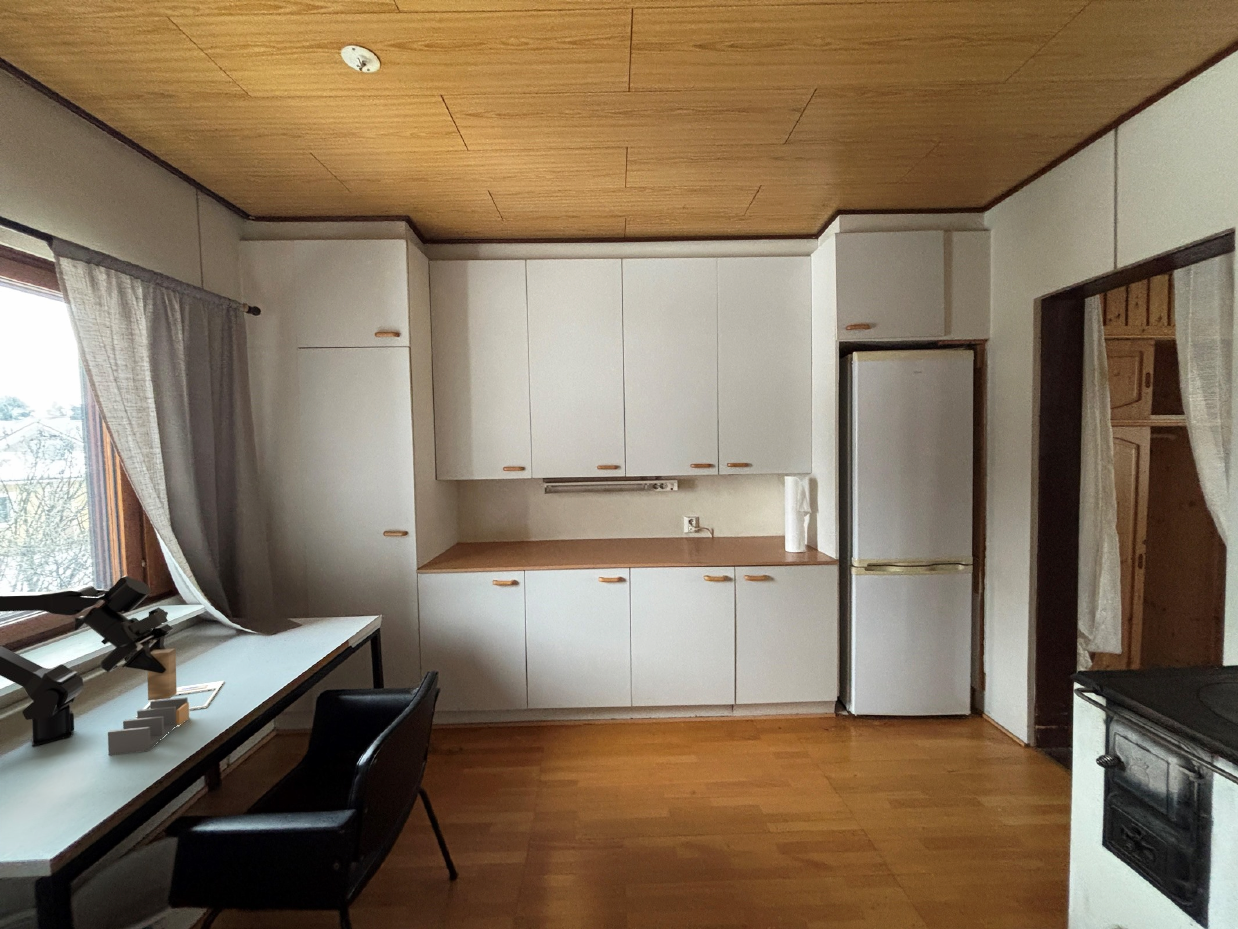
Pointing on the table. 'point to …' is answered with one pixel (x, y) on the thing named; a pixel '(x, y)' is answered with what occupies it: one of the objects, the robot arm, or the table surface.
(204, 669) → the table surface
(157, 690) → the wooden block
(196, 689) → the photo frame
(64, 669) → the robot arm
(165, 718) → the rack
